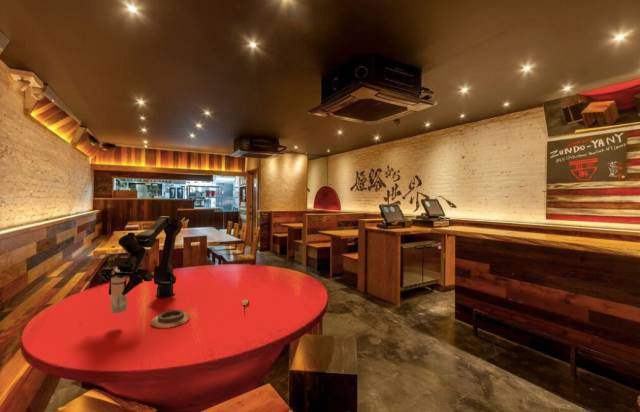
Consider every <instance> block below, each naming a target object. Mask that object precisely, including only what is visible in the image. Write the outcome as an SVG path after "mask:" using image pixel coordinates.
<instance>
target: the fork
mask: <svg viewBox="0 0 640 412" xmlns="http://www.w3.org/2000/svg"><path fill="white" fill-rule="evenodd" d="M248 300H249V299H243V300H242V301H241V303H242V305H245V306H246V305H247V304H249V301H248Z"/></svg>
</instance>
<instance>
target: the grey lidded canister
mask: <svg viewBox="0 0 640 412" xmlns="http://www.w3.org/2000/svg"><path fill="white" fill-rule="evenodd" d="M127 279H128V277H127V276H125V275H120V276H114V277H111V295H110V305H111V306H110V307H111V308H110V311H111V313H112V314H117V313H118V314H119V313H122V312H126V311H127V310H128V293H127V294H126V295H123V291H124V289H125V287H126V285H127V283H128V280H127Z"/></svg>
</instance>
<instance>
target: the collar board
mask: <svg viewBox="0 0 640 412" xmlns="http://www.w3.org/2000/svg"><path fill="white" fill-rule="evenodd" d="M190 319H191V314H190V313H188V312H187V311H186V312H185V311H183V310H181V309H172V310H167V311H164V312H161V313H159V314H158V315H157V316H155V317H153V318H152V319H151V324H150V325H151V326H152V327H153V328H157V329H169V328H170V327H171V328H174V327H178V326H181V325H184V324H186V323H187V322H189V321H190ZM185 322H186V323H185Z"/></svg>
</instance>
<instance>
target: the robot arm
mask: <svg viewBox="0 0 640 412" xmlns="http://www.w3.org/2000/svg"><path fill="white" fill-rule="evenodd" d="M182 228H183V222H182V221H181V219H178V218H175V217H172V216H169V215H168V216H166V215H164V216H163V215H161V216H159V217H158V218H157V220H156V221H155V222H154V223H153V224H152V225H151V226H150V227H149V228H148V229H145V230H144V231H141V232H139V233H137V234H135V232H128V233H127V234H125V235H123V236H122V237H120V238H119V239H118V245H119V247H121V248H122V249H123V250H124V252H126V253H127V254H128V255H127V257H114V258H113V262H112V267H117V268H116V269H117V270H118V271H117V270H116V269H114V268H111V267H103V268H101V269H100V271H99V272H98V275H100V277H101V278H103V280H104V281H108V282H109V286H108V295H109V296H111V277H114V276H120V275H125V276H127V278H128V279H129V280H127V285H126V287H125V289H124V291H123V295H126V294H127V295H128V293H129V292H131V291H133V289H134V288H136V287H137V286H139V285H140V284H143V283H144V282H152V280H153V283H154V285H157V287H156V294H155V296H156V297H159V298H161V299H164V298H168V297H172V296H175V295H176V293H174V284H176V282H177V277H176V275H175V274H174V268H173V265H172V261H173V256H174V255H173V254H174V249H175V244H176V239H177V237H178V235H179V234H180V233H181V230H182ZM163 231H164V234H165V238H164V243H163V247H162V248H163V249H162V252H161V258H160V262H159V264H158V265H155V266H154V271H153V273H152V272H151V270H150V269H149V268H142V267H143V264H142V263H143V261H144V259H145V257H149V252H148V249H146V248H152V247H154V245H155V244H156V242H157V237H158V236H159V235H160V233H162V232H163Z"/></svg>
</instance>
